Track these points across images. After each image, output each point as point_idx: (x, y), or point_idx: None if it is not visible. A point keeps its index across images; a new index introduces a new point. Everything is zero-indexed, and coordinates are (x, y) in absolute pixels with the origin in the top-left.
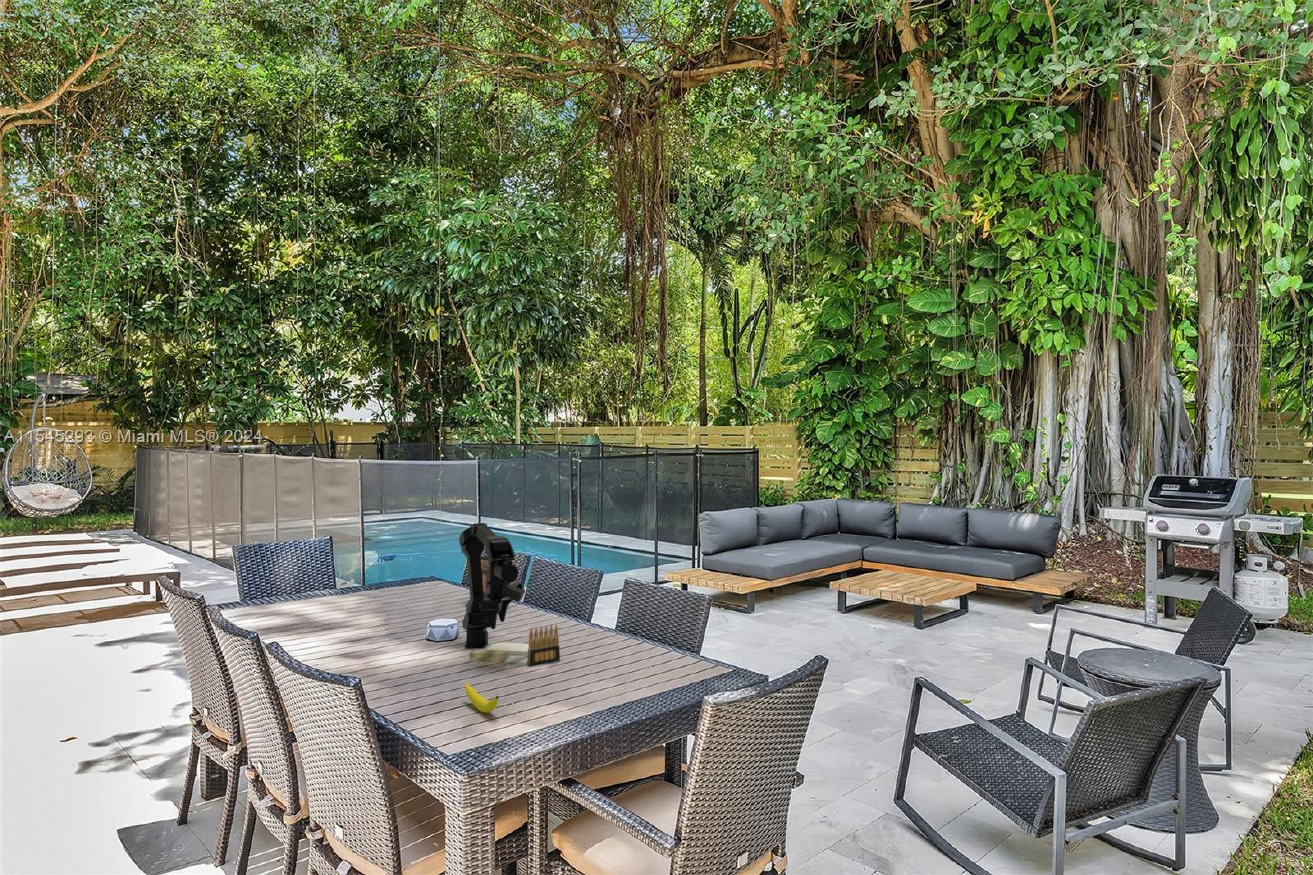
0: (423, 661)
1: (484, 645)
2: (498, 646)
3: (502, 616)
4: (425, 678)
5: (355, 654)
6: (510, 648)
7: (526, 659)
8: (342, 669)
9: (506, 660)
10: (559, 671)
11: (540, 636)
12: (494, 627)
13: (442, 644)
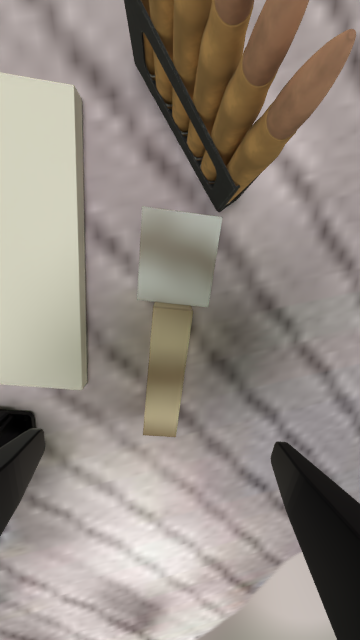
0: (177, 510)
1: (10, 413)
2: (30, 365)
3: (6, 486)
4: None
5: (133, 617)
6: (46, 316)
7: (179, 221)
8: (230, 603)
9: (194, 302)
10: (321, 22)
11: (249, 14)
12: (298, 455)
13: (19, 512)
